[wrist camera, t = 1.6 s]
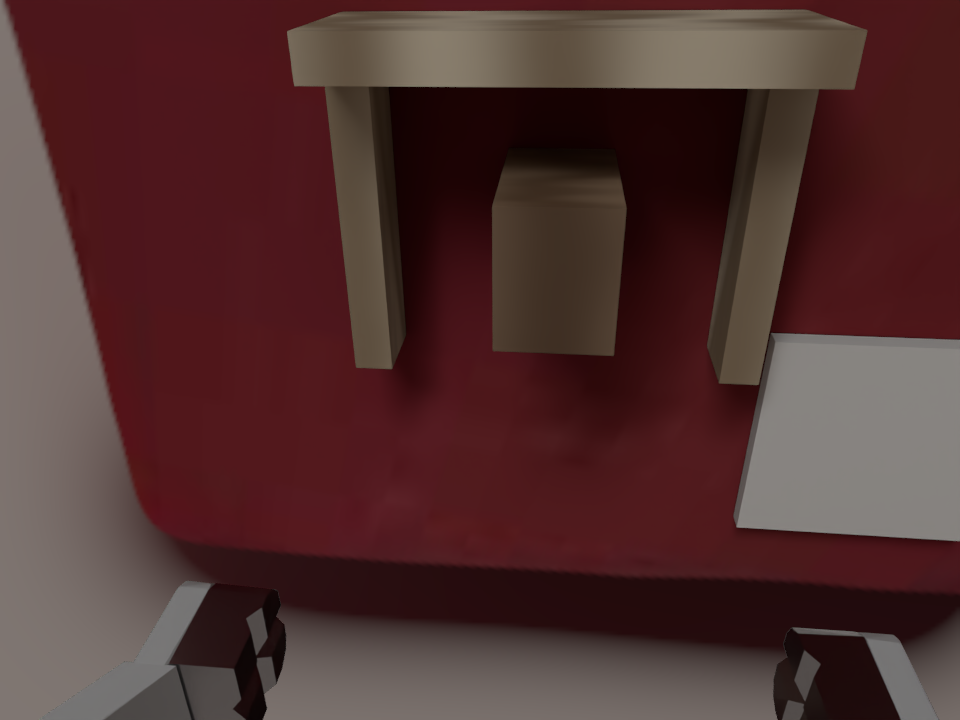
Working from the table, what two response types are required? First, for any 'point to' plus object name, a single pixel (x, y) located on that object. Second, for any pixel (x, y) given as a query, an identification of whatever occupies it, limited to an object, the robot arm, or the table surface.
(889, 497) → the white tile
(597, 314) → the block
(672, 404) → the table surface
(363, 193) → the shelf bay
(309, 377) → the table surface
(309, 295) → the table surface
